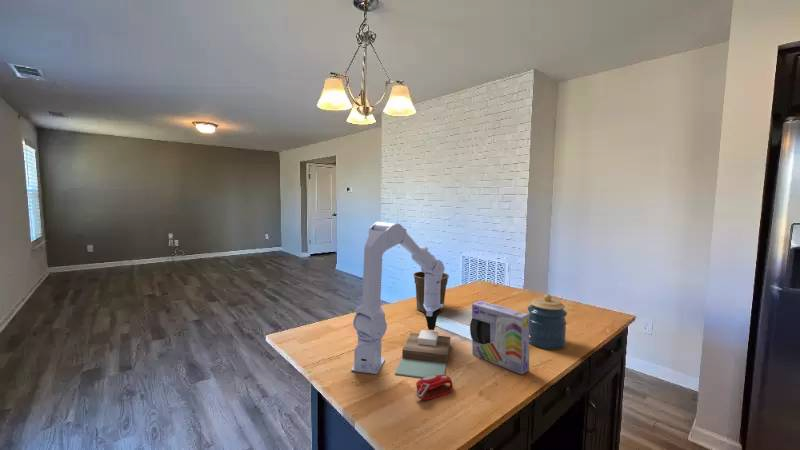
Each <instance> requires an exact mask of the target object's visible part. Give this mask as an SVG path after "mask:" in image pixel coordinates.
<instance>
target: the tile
mask: <svg viewBox="0 0 800 450" xmlns="http://www.w3.org/2000/svg"><path fill="white" fill-rule="evenodd" d="M419 334H420V335H419V337H418V344H423V345H432V346H436V344H437V341H438V336H439V331H434V330H423V329H421V330H420V332H419Z"/></svg>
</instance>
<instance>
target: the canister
mask: <svg viewBox="0 0 800 450" xmlns="http://www.w3.org/2000/svg"><path fill="white" fill-rule="evenodd" d="M565 308H566V306H565V304H564V303H562V302H561V300H558V299H555V298H553V297H552V295H550V294H549V293H548V294H547V293H545V294H544V296H543V297H542V296H541V297H536V298H534V299H532V300H530V305H528V306H527V310H528V314H529V335H530V336H531V337H530V339H529V341H530V343H529V345H532V346H534V347H537V348H540V349H543V350H544V349H545V350H551V351H554V350H556V351H557V350H562V349H564V347H565V344H566V340H567V339H566V329H567V321H566V316H568V312H567V310H565Z"/></svg>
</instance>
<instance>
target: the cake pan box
mask: <svg viewBox="0 0 800 450" xmlns="http://www.w3.org/2000/svg"><path fill="white" fill-rule="evenodd" d="M469 332H470V333H469V334H470V337H471V338H470V339H471V341H472V343H471V345H472V346H471V349H472V350H471V351H472V353H471V354H472V355H473V356H476V357H478V358H480V359H483V360H484V361H488V362H490V363H492V364H494V365H497V366H499V367H502V368H504V369H506V370H509V371H510V372H511V371H512V372H514V373H516V374H519V375H524V374H525V373H527V372H529V371H530V343H529V313H526V312H522V311H519V310H515V309H511V308H509V307H506V306H502V305H499V304H494V303H490V302H486V301H483V300H479V301H476V302H473V303H472V304H471V320H470V324H469Z"/></svg>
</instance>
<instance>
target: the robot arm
mask: <svg viewBox="0 0 800 450" xmlns="http://www.w3.org/2000/svg"><path fill="white" fill-rule="evenodd" d="M397 245H400V246H401V247H402V248H404V249H405V250H406V251H408V252H409V253H410V254H411V259H412V260H413V261H414V263H416V264H417V265H418V266H419V267H420V270H421V271H422V272H424V273H425V281H424V304H423V306H424V308H425V309H424V311H423V314H424V317H425V321H426V326H427V329H428V330H427V331H434V330H435V329H436V324H437V319H438V316H439V315H440V313H441V312H440V309H439V308H443V304H440V287H441V280H442V275H443V273H445V269H446V267H445V265H444V263H443V261H442V260H440V259H437V258H436V256H435V255H434V254H432V253H431V252H430V251H429V248H428V247H427V246H421V245H420V246H419V245H418V244H417V242H415V241H414V239H413V238H412V237H411V235H410V234H409V233H408V232H407V229H406V227H405V228H404V227H403V225H402V224H400V223H398V222H397V223H394V222H393V223H391V222H382V221H376V222H375V223H373V224H372V225H371V226H370V227H369V228H368V237H367V239H366V242H365V245H364V249H363V270H362V271H363V274H362V276H363V277H362V298H361V299H362V301H361V305H359V306H358V307H357V308H356V309H355V315H354V318H353V319H352V320H353V321H352V324H353V328H354V329H355V330H356V334H357V345H356V347H355V348H354V353H353V354H354V356H353V357H354V360H353V361H354V364H353V366H352V367H351V370H350V371H352V372H359V373H364V374H372V375H377V374H379V371H380V370H381V368H382V366H383V364H384V362H385V361H386V357H382V339H383V338H384V335H385V334H386V332H387V330H388V324H387V321H386V313H385V312H384V311H385V310H384V309H383V308H382V306H381V297H382V295H381V294H382V293H381V292H382V275H383V274H382V272H383V271H382V270H383V255H384V254H385V253H386V252H387V251H388V250H389V249H392V248H394V247H395V246H397ZM443 309H444V308H443Z"/></svg>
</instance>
